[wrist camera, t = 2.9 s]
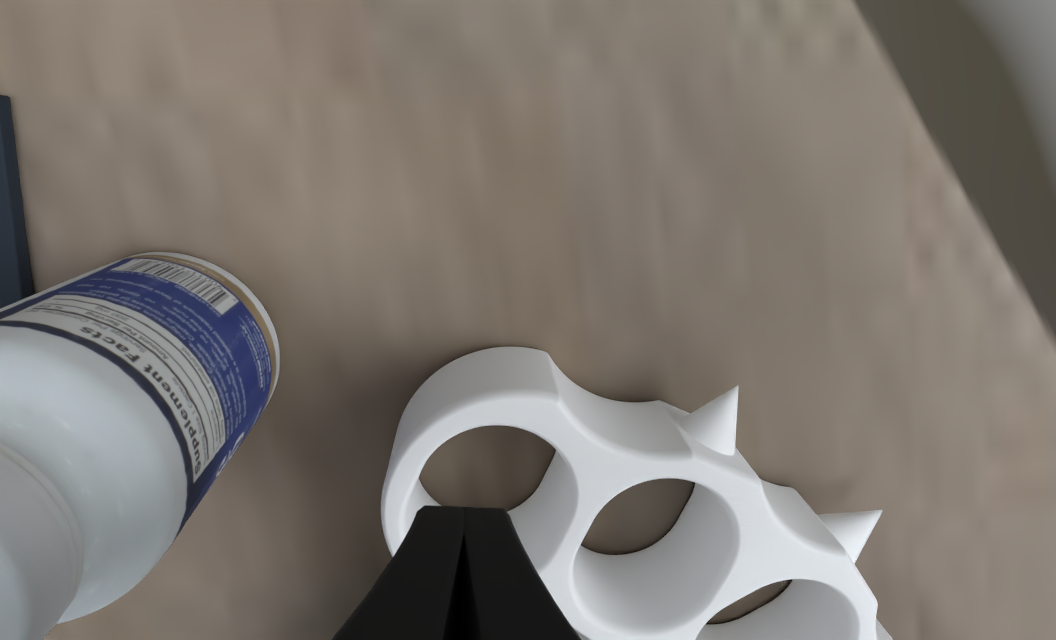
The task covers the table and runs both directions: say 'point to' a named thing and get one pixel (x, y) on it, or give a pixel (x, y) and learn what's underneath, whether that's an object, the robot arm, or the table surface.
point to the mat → (11, 218)
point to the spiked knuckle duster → (623, 461)
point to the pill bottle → (118, 425)
